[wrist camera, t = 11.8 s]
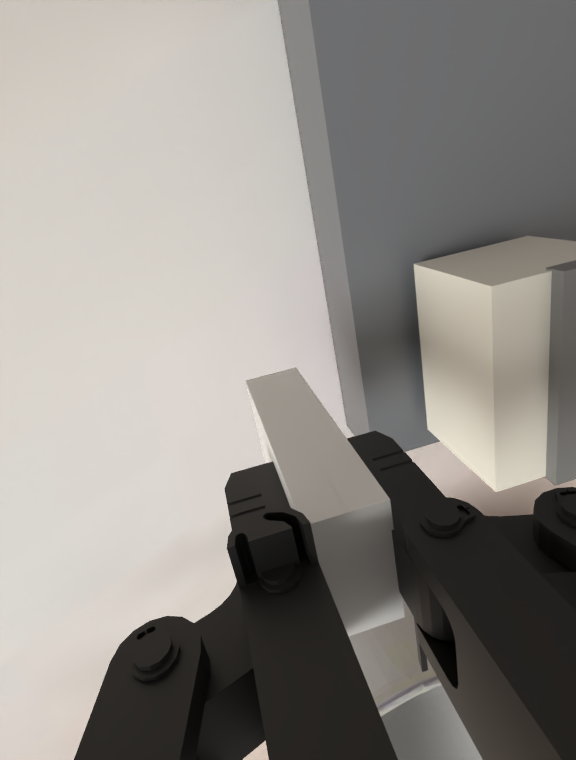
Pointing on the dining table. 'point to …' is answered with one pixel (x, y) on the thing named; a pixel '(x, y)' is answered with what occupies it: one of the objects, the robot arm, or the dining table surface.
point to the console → (424, 163)
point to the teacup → (410, 695)
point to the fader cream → (502, 358)
